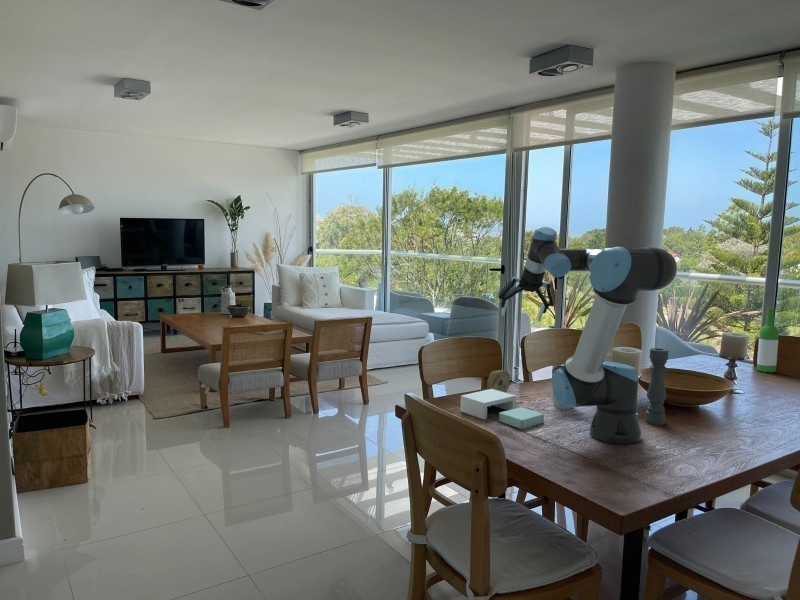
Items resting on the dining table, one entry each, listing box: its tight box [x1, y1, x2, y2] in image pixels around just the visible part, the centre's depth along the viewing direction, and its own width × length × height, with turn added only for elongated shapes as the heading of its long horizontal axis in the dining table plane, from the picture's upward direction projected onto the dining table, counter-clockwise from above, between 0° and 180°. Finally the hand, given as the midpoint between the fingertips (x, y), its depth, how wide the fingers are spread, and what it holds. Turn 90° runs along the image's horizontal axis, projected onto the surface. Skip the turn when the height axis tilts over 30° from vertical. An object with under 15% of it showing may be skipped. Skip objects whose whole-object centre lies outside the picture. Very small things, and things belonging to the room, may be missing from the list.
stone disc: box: [486, 369, 511, 393], centre depth 234 cm, size 10×4×10 cm, turn 125°
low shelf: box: [460, 389, 517, 420], centre depth 213 cm, size 12×16×6 cm
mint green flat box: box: [498, 406, 545, 430], centre depth 201 cm, size 10×11×3 cm
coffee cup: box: [551, 364, 573, 410], centre depth 219 cm, size 9×9×15 cm
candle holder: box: [644, 347, 669, 426], centre depth 202 cm, size 6×6×25 cm
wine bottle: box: [756, 307, 780, 374], centre depth 280 cm, size 8×8×30 cm
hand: (520, 316), depth 223 cm, fingers open, 13 cm apart
